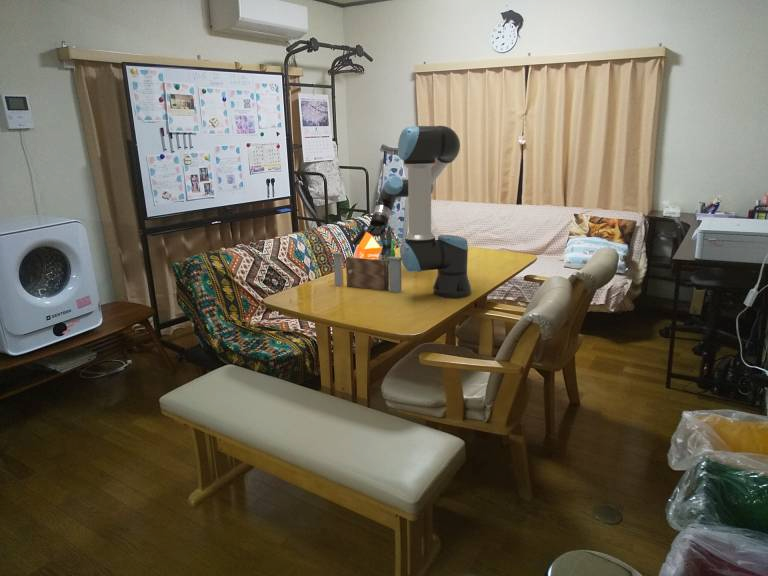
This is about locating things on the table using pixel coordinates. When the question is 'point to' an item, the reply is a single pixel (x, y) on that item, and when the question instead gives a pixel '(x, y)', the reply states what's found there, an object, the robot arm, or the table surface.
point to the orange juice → (368, 247)
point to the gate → (367, 273)
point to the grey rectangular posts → (393, 272)
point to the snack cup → (388, 250)
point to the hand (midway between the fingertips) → (366, 259)
